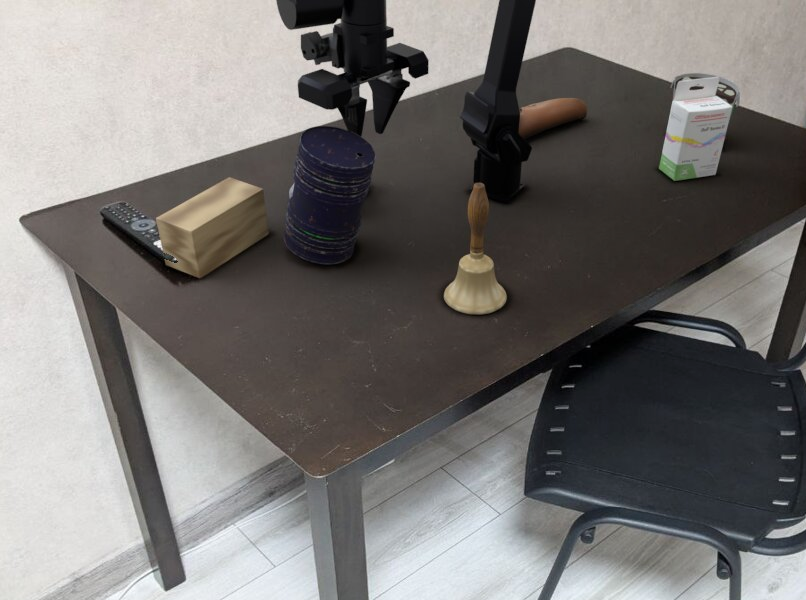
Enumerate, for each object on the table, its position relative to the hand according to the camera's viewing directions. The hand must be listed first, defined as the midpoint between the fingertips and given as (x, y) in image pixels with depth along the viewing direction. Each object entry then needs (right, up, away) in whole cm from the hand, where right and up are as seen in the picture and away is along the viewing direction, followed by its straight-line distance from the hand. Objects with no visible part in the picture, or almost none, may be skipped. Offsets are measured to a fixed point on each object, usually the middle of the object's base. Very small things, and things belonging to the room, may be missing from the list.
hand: (367, 137), depth 124 cm
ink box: (+49, +3, +27) cm, 57 cm away
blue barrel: (-7, -14, +2) cm, 16 cm away
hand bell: (+15, -23, -4) cm, 27 cm away
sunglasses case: (+25, +14, +37) cm, 47 cm away
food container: (+54, +12, +38) cm, 67 cm away
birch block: (-21, -15, +1) cm, 25 cm away
